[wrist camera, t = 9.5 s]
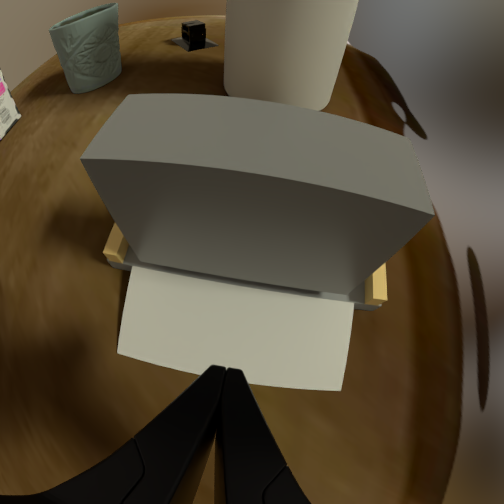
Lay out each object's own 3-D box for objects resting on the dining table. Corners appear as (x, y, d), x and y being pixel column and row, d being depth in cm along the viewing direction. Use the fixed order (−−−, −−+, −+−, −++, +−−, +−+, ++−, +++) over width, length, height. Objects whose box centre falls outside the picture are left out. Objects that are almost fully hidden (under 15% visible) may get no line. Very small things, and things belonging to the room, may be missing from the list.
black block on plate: (165, 41, 37) (163, 21, 33) (200, 33, 39) (200, 14, 35) (186, 58, 33) (185, 33, 29) (228, 49, 35) (229, 26, 31)
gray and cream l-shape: (339, 301, 16) (434, 215, 7) (145, 269, 16) (79, 158, 7) (335, 161, 21) (374, 66, 13) (194, 139, 21) (187, 36, 13)
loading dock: (363, 390, 15) (387, 390, 12) (96, 345, 15) (73, 337, 12) (358, 169, 24) (370, 146, 21) (173, 138, 24) (169, 113, 21)
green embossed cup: (78, 74, 31) (63, 18, 20) (132, 58, 32) (123, -2, 22) (59, 104, 26) (37, 37, 16) (122, 84, 28) (108, 9, 17)
